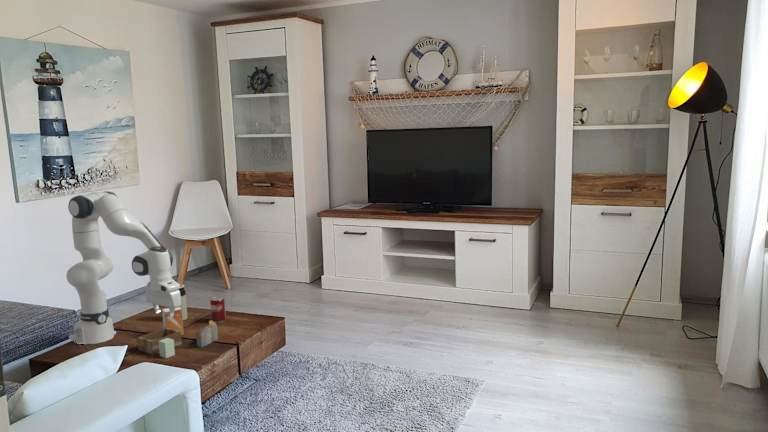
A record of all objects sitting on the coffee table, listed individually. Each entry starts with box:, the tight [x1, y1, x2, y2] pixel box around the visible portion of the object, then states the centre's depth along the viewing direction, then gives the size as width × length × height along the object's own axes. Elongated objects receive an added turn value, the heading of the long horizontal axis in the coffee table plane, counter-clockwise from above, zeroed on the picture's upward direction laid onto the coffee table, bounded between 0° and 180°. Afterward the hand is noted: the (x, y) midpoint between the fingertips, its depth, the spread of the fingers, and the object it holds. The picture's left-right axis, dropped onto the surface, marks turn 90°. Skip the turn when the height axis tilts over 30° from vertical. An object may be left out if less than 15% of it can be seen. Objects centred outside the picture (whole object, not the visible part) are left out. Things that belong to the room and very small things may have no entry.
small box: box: [161, 307, 185, 336], centre depth 283 cm, size 8×6×13 cm
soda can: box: [209, 296, 227, 324], centre depth 302 cm, size 7×7×12 cm
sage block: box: [159, 338, 176, 359], centre depth 258 cm, size 4×4×7 cm
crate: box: [136, 328, 183, 356], centre depth 268 cm, size 11×15×6 cm
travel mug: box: [178, 283, 188, 322], centre depth 305 cm, size 8×8×18 cm
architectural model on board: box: [195, 319, 219, 348], centre depth 272 cm, size 11×3×10 cm, turn 157°
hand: (164, 314), depth 255 cm, fingers open, 8 cm apart
